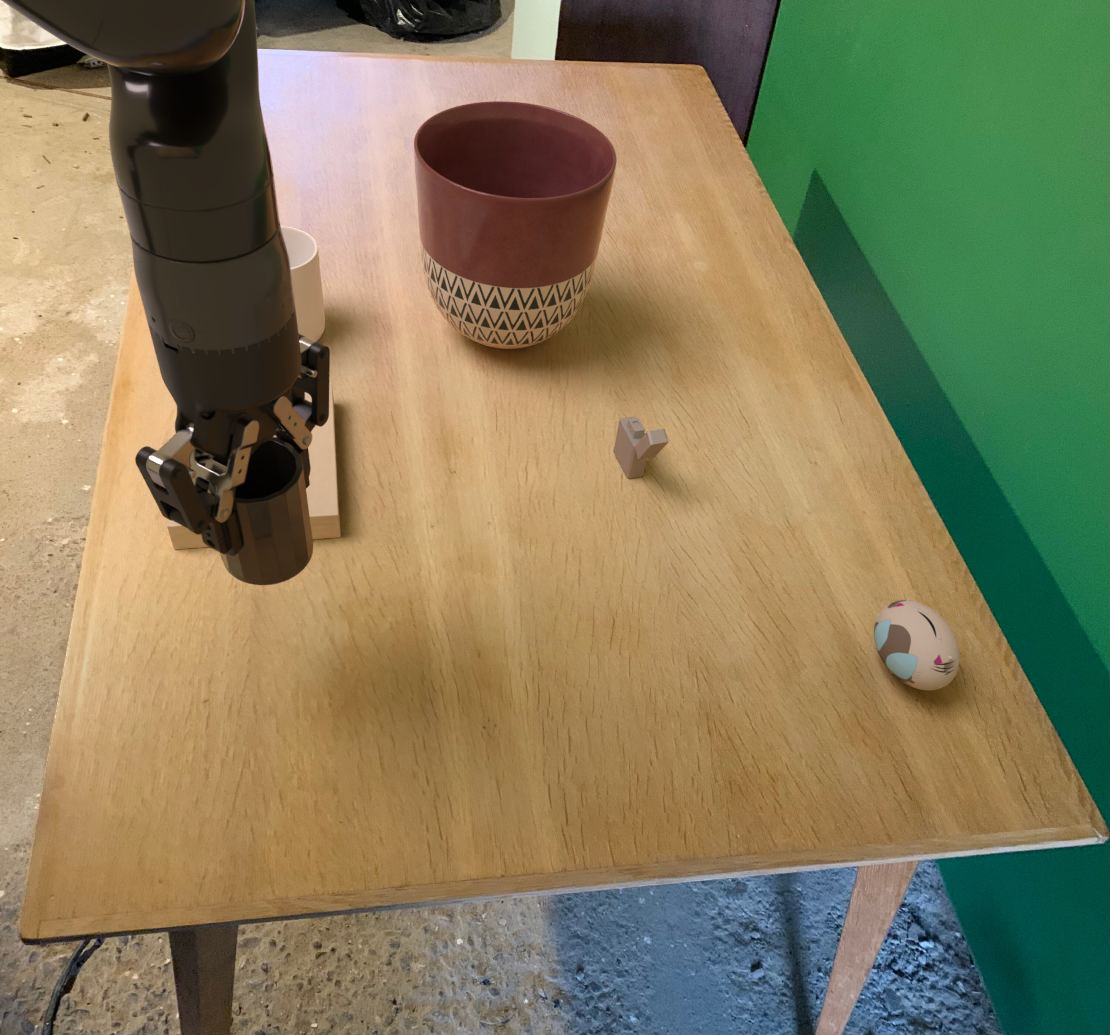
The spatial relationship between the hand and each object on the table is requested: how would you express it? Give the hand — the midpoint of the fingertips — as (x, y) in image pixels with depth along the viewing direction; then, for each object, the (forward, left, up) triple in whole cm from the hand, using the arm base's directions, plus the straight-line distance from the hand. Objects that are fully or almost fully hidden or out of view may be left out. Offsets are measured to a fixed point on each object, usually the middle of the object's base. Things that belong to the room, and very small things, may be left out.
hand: (260, 515), depth 62 cm
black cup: (0, 0, -4) cm, 4 cm away
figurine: (+26, -44, -18) cm, 53 cm away
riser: (+16, +15, -17) cm, 28 cm away
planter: (+48, +7, -18) cm, 51 cm away
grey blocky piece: (+35, -15, -18) cm, 41 cm away
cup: (+33, +25, -18) cm, 45 cm away
